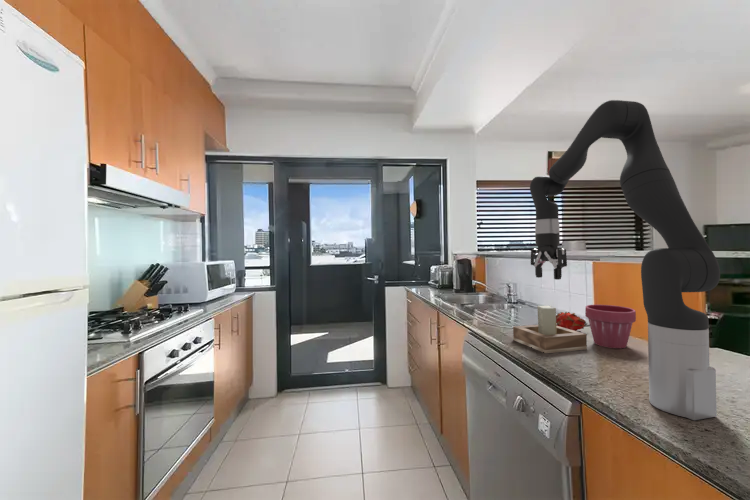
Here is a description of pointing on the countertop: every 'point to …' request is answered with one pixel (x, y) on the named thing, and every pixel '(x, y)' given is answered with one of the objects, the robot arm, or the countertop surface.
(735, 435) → the countertop surface
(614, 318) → the plant pot
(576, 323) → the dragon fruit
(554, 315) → the skincare box
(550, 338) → the socket block
